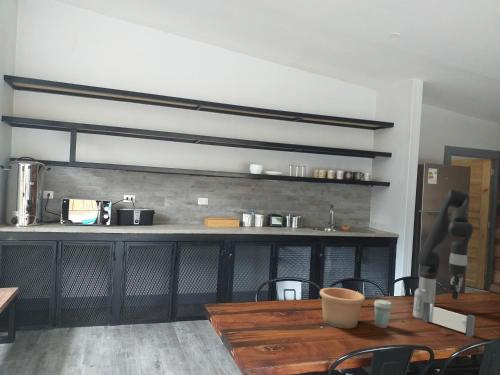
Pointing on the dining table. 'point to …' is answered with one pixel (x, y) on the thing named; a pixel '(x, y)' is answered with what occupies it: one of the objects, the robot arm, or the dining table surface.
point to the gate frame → (469, 321)
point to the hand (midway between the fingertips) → (455, 298)
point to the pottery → (341, 307)
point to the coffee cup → (382, 313)
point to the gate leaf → (448, 318)
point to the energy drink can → (419, 303)
